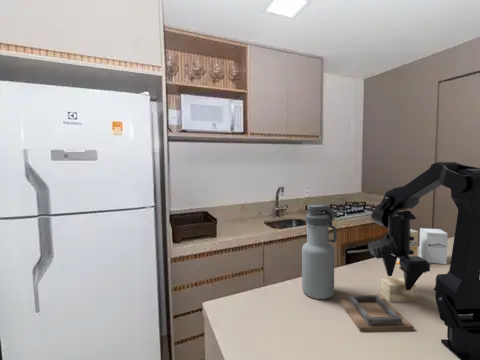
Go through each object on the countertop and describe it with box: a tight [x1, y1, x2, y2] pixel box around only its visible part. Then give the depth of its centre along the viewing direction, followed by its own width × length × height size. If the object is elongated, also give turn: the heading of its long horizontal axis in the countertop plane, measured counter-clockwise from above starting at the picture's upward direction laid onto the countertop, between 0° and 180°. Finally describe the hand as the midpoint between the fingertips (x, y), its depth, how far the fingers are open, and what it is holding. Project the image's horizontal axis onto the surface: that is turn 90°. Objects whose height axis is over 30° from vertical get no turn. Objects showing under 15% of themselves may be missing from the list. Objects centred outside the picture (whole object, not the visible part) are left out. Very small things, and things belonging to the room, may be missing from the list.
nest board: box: [339, 294, 414, 332], centre depth 70 cm, size 13×13×2 cm
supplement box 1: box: [396, 229, 419, 265], centre depth 105 cm, size 8×5×13 cm, turn 105°
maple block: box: [381, 277, 416, 302], centre depth 79 cm, size 8×4×5 cm, turn 89°
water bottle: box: [301, 204, 338, 300], centre depth 82 cm, size 10×10×28 cm
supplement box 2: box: [418, 227, 449, 265], centre depth 106 cm, size 7×7×13 cm
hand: (398, 282), depth 79 cm, fingers open, 9 cm apart
